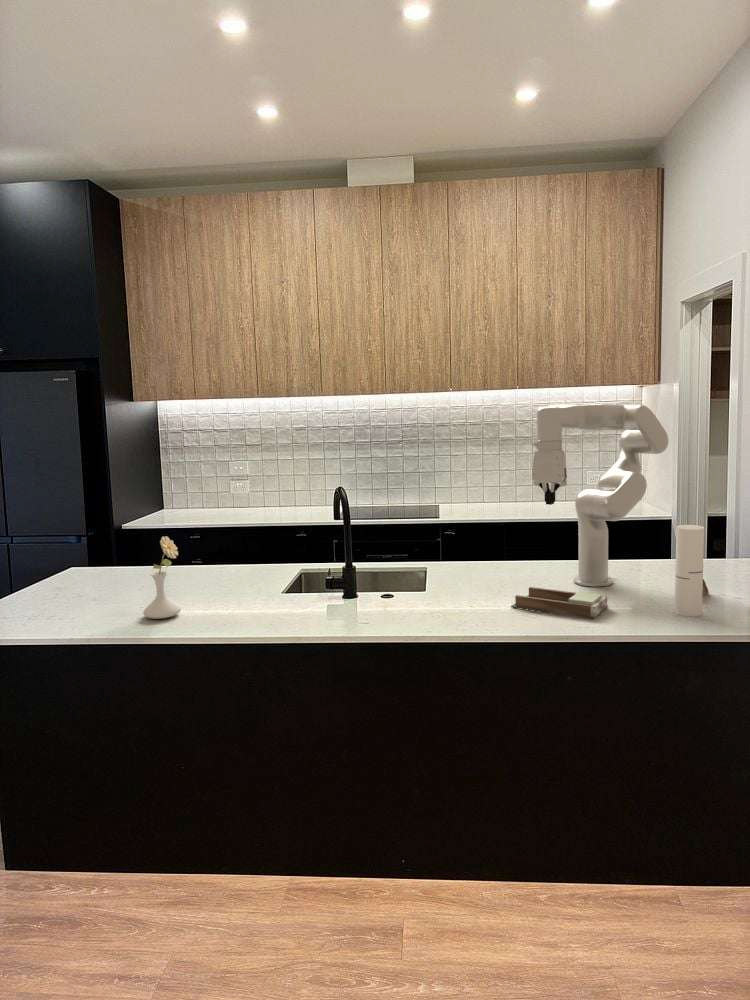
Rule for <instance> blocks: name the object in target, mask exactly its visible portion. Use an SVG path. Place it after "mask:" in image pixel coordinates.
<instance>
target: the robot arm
mask: <svg viewBox="0 0 750 1000" xmlns="http://www.w3.org/2000/svg"><path fill="white" fill-rule="evenodd" d="M536 427H537V428H536V429H537V432H536V433H537V434H536V442H533V443H532V445H533V447H535V448H536V450H535V451H534V452H533V457H532V458H533V459H532V470H531V479H532V481H533V484H532V485H534V486H537V487H540V488H541V490H542V491H543V493H544V502H545V505H554V504H555V502H556V492H557V490H558V489H559V488H560V487H566V486H567V485H568V483H567V478H568V469H567V467H568V466H567V459H566V454H565V453H566V452H565V450H563V429H565V430H566V429H568V430H569V429H570V430H573V429H579V430H586V431H587V430H588V431H623V432H622V433H621V435H620V436H619V440H618V441H619V442H618V443H619V444H618V446H619V447H618V448H619V452H618V453H619V456H618V459H617V460H616V462H614V464H613V465H612V466H611V467H610V468H609V469H608V470H607V471H606V472H605V473H604V474H602V476H601V477H599V480H598V482H597V489H596V488H587V489H583V490H581V491H579V493H578V494H577V495H576V498H575V502H574V503H575V512H576V516H577V517H576V518H577V525H578V575H576V576H574V577H573V583H575V584H576V585H580V586H584V587H592V588H593V587H595V588H596V587H598V588H599V587H600V588H601V587H607V586H611V585H612V584H613V583H614V581H613V578H612V577H610V576H609V528H608V524H607V522H606V521H610V522H617V521H620V520H622V519H624V518H625V517H626V516H627V515H628V514H629V513H630V512H631V511H632V510H633V509H634V507H636V506H637V505H638V503H639V502H641V500H642V499H643V498H644V495H646V491H647V487H648V486H647V485H648V484H647V480H646V477H645V476H644V475H643V474H642V473H641V470H642V465H641V462H640V456H639V454H651V455H658V454H662V453H663V452H665V451H666V450H667V448H668V445H669V436H668V433H667V431H666V430H665V428H664V426H663V425H662V423H661V422H660V420H659V418H657V416H656V415H655V413H654V412H653V411H652V409H650V408H649V407H648V406H647V405H644V404H608V403H607V404H606V403H605V404H604V403H603V404H602V403H593V404H581V405H579V404H578V405H577V404H552V405H548V406H542V407H539V408H538V409H537V412H536Z"/></svg>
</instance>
